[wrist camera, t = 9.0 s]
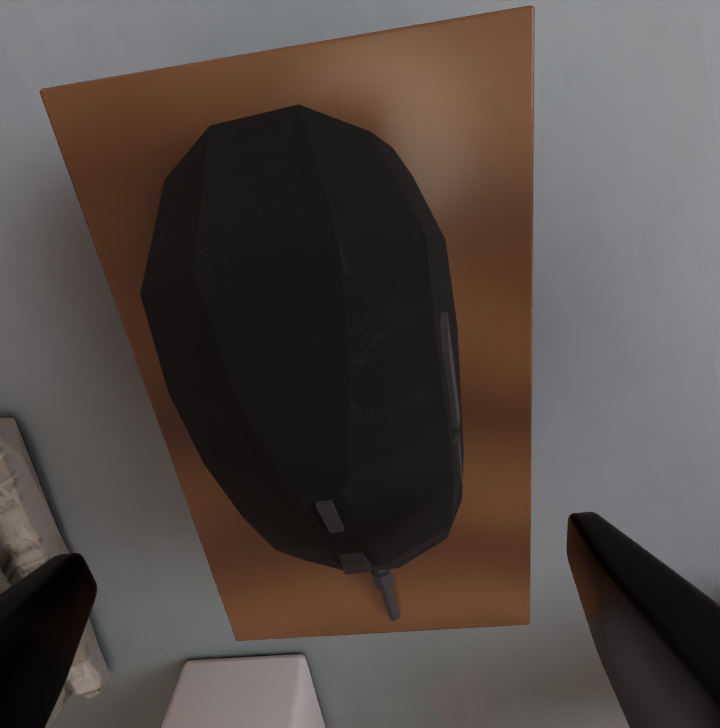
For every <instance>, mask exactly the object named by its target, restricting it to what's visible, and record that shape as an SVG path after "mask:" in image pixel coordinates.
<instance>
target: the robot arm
mask: <svg viewBox="0 0 720 728" xmlns="http://www.w3.org/2000/svg"><path fill="white" fill-rule="evenodd" d="M567 556H568V561H569V565H570V568H571V571H572V574H573V577H574V580H575V584H576V587H577V590H578V593H579V596H580V599H581V603H582V606H583V609H584V612H585V615H586V619H587V622H588V625H589V628H590V631H591V634H592V637H593V640H594V643H595V646H596V649H597V652H598V655H599V657H600V660H601V662H602V664H603V667H604V669H605V671H606V674H607V676H608V678H609V681H610V683H611V685H612V688H613V690H614V692H615V694H616V697H617V699H618V701H619V704H620V706H621V708H622V711H623V713H624V715H625V717H626V720H627V722H628V724H629V727H630V728H720V605H719V604H718V603H716V602H715V601H714V600H712V599H711V598H709V597H708V596H707V595H705V594H704V593H703V592H701V591H700V590H699V589H697V588H696V587H695V586H693V585H692V584H691V583H689V582H688V581H687V580H685V579H684V578H683V577H681V576H680V575H679V574H677V573H676V572H675V571H673V570H672V569H671V568H669V567H668V566H667V565H665V564H664V563H662V562H661V561H660V560H658V559H657V558H656V557H654V556H653V555H652V554H650V553H649V552H648V551H646V550H645V549H644V548H642V547H641V546H640V545H638V544H637V543H636V542H634V541H633V540H632V539H630V538H629V537H628V536H626V535H625V534H624V533H622V532H621V531H619V530H618V529H617V528H615V527H614V526H613V525H611V524H610V523H609V522H607V521H606V520H605V519H603V518H602V517H601V516H599V515H598V514H596V513H594V512H583V513H573V514H571V515H570V516H569V518H568V531H567ZM96 593H97V585H96V581H95V579H94V577H93V575H92V573H91V571H90V569H89V567H88V565H87V563H86V561H85V559H84V558H83V556H82V555H80V554H79V553H68V554H59V555H56V556H54V557H52V558H51V559H49V560H48V561H47V562H45V563H44V564H42V565H41V566H39V567H38V568H37V569H35V570H34V571H32V572H31V573H29V574H28V575H27V576H25V577H24V578H22V579H21V580H19V581H18V582H17V583H15V584H14V585H12V586H11V587H9V588H8V589H7V590H5V591H4V592H2V593H1V594H0V728H45V727H46V725H47V723H48V720H49V718H50V716H51V714H52V712H53V709H54V707H55V705H56V703H57V701H58V698H59V696H60V694H61V692H62V689H63V687H64V684H65V682H66V680H67V677H68V674H69V672H70V669H71V666H72V664H73V661H74V658H75V655H76V652H77V649H78V647H79V644H80V641H81V638H82V635H83V632H84V629H85V627H86V624H87V621H88V618H89V615H90V612H91V609H92V607H93V604H94V601H95V598H96Z"/></svg>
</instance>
